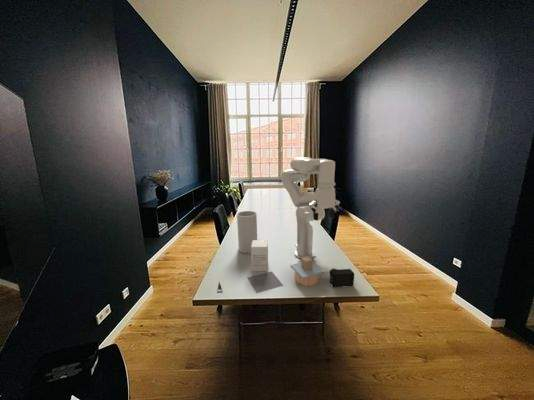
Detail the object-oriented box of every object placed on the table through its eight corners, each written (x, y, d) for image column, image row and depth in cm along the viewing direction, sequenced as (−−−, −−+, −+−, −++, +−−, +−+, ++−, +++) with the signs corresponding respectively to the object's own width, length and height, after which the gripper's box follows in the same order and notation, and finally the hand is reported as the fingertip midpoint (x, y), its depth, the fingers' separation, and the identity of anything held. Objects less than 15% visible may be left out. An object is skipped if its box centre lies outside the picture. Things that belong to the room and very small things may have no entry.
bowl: (291, 277, 114) (291, 267, 113) (309, 272, 118) (309, 262, 117) (302, 289, 104) (303, 278, 103) (322, 283, 109) (322, 272, 107)
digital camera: (348, 279, 111) (349, 267, 110) (353, 286, 106) (354, 273, 104) (328, 281, 111) (329, 268, 109) (332, 287, 105) (333, 274, 104)
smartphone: (217, 292, 103) (219, 274, 118) (217, 293, 103) (220, 275, 118) (232, 290, 104) (233, 273, 118) (232, 291, 104) (233, 274, 118)
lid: (290, 266, 113) (290, 256, 112) (310, 261, 118) (310, 251, 116) (302, 278, 103) (303, 267, 101) (324, 273, 107) (324, 261, 106)
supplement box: (253, 263, 129) (252, 239, 125) (268, 263, 128) (268, 239, 125) (251, 272, 120) (250, 246, 116) (268, 272, 119) (267, 246, 116)
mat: (247, 278, 114) (247, 277, 114) (271, 272, 119) (271, 271, 119) (256, 294, 101) (256, 293, 101) (283, 286, 107) (283, 285, 106)
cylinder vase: (260, 247, 149) (260, 212, 144) (251, 255, 139) (249, 217, 133) (245, 244, 155) (244, 210, 149) (235, 251, 144) (233, 215, 139)
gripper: (335, 183, 114) (333, 214, 118) (306, 185, 109) (305, 218, 113) (345, 185, 107) (342, 218, 112) (314, 188, 102) (312, 223, 106)
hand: (323, 218), depth 112 cm, fingers open, 9 cm apart
